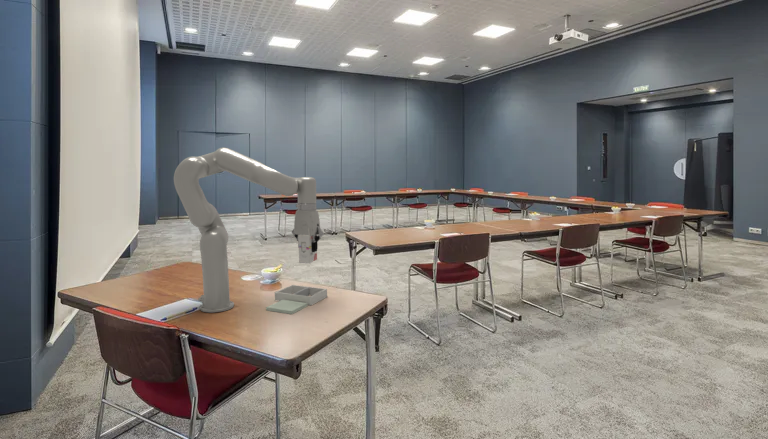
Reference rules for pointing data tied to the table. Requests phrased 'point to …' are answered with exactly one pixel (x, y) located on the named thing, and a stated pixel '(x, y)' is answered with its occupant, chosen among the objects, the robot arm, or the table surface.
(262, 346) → the table surface
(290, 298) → the bin
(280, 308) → the board
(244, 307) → the table surface
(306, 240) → the ink cartridge box
